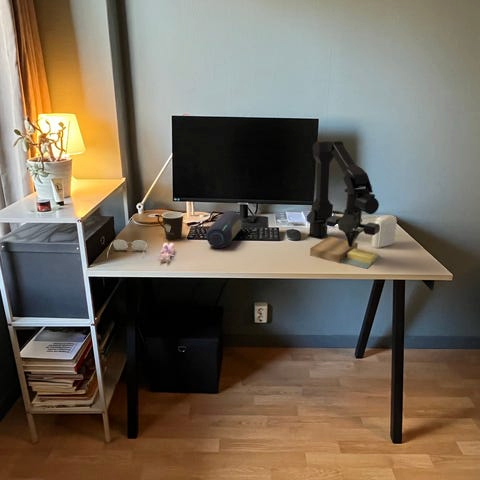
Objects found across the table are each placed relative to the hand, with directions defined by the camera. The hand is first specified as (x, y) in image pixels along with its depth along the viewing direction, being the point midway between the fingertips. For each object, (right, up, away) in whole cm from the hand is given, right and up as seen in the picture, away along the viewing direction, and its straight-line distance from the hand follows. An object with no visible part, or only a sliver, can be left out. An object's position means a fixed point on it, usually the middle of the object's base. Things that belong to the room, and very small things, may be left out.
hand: (350, 246), depth 173 cm
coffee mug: (-70, +4, +21) cm, 73 cm away
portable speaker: (-47, +2, +18) cm, 51 cm away
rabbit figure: (-68, -4, 0) cm, 69 cm away
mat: (+4, -5, -1) cm, 6 cm away
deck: (-5, -2, +5) cm, 8 cm away
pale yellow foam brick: (+4, -4, -1) cm, 6 cm away
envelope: (+11, +10, +41) cm, 43 cm away
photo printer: (+16, 0, +13) cm, 21 cm away
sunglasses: (-84, -4, +3) cm, 84 cm away
